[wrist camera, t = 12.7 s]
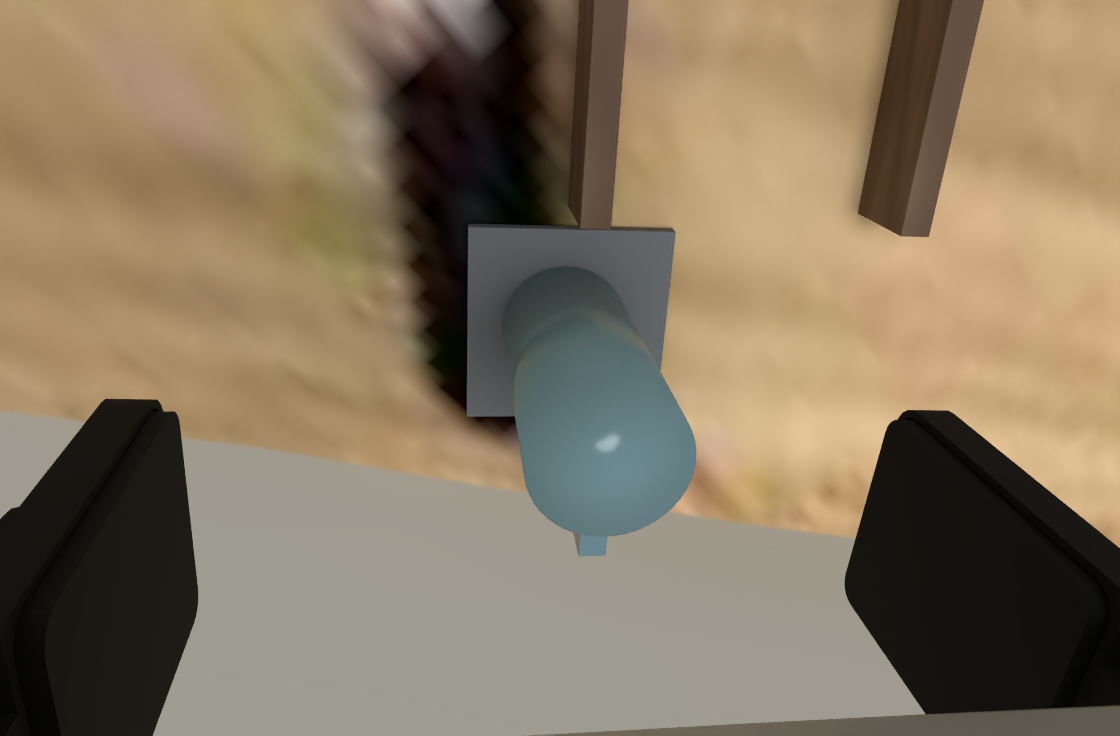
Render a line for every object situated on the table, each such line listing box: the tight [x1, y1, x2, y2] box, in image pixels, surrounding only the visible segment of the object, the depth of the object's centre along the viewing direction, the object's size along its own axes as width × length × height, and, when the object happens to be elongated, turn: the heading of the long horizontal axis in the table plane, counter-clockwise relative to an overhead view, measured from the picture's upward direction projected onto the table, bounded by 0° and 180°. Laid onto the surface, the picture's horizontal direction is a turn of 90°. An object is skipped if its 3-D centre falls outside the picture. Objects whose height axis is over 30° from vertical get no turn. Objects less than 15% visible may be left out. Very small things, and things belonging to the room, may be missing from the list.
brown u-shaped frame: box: [568, 0, 984, 237], centre depth 32 cm, size 14×14×4 cm
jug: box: [502, 267, 696, 556], centre depth 32 cm, size 8×6×12 cm
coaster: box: [467, 224, 675, 416], centre depth 38 cm, size 9×9×1 cm
